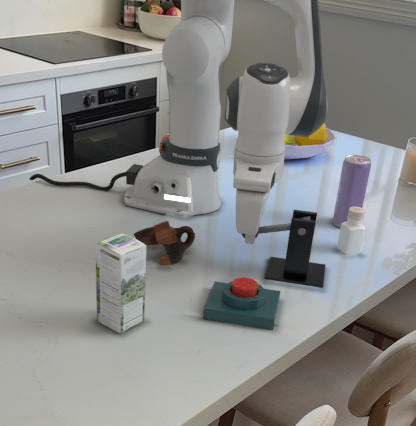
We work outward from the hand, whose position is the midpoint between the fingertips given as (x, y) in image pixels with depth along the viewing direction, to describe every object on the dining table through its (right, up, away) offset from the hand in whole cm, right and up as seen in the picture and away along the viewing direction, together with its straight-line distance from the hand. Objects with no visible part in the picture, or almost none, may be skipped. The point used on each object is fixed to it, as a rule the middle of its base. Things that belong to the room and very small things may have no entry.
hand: (251, 237), depth 127 cm
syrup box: (-23, -17, -15) cm, 32 cm away
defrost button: (-2, -12, -11) cm, 16 cm away
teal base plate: (-2, -15, -9) cm, 17 cm away
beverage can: (+23, +8, +25) cm, 35 cm away
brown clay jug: (-17, -3, +6) cm, 18 cm away
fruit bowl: (+13, +37, +65) cm, 76 cm away
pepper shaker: (+21, -1, +13) cm, 25 cm away
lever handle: (+5, 0, -1) cm, 5 cm away
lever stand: (+9, -7, +3) cm, 11 cm away
